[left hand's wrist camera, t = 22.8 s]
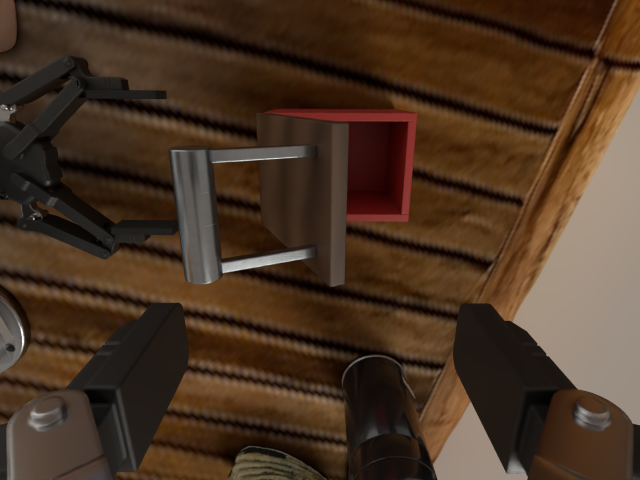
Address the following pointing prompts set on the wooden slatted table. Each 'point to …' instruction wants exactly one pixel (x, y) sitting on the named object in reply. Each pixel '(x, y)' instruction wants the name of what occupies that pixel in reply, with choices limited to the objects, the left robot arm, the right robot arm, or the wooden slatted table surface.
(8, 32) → the anatomical model
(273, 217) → the lid
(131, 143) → the wooden slatted table surface
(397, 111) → the chest
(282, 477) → the fossil
